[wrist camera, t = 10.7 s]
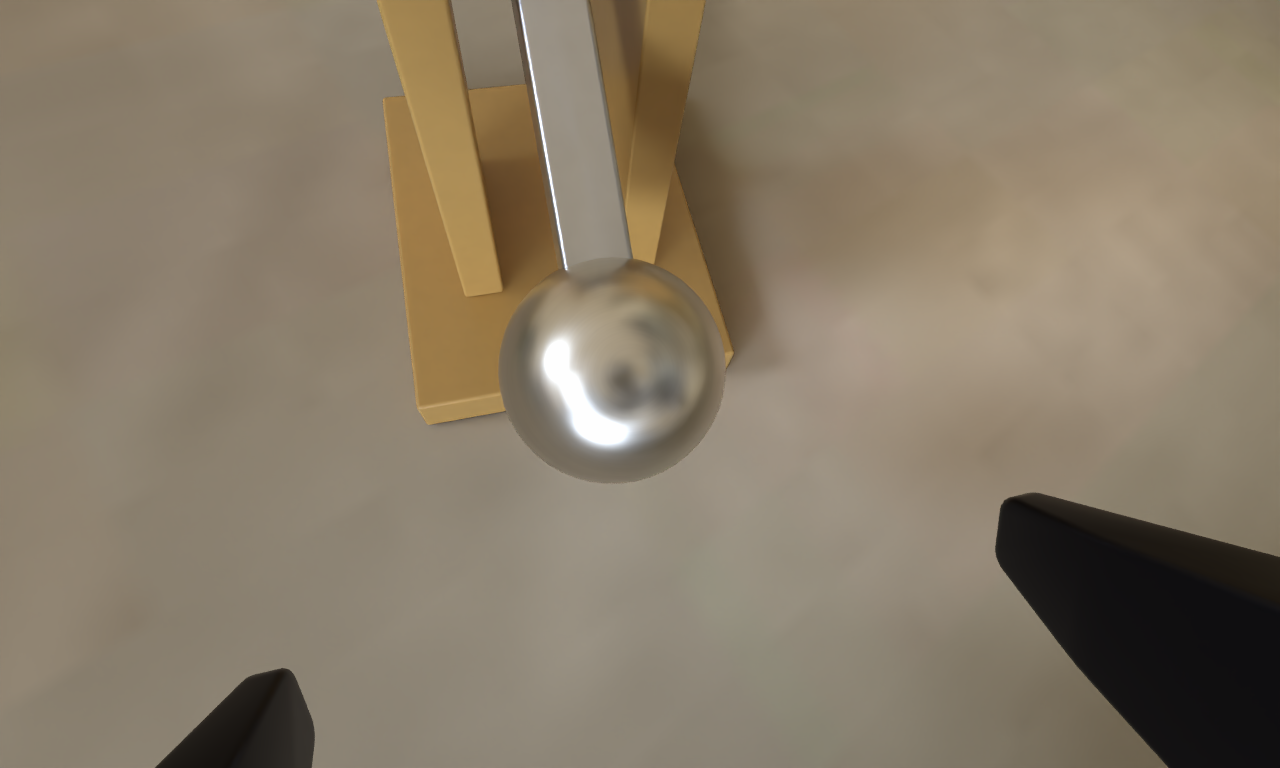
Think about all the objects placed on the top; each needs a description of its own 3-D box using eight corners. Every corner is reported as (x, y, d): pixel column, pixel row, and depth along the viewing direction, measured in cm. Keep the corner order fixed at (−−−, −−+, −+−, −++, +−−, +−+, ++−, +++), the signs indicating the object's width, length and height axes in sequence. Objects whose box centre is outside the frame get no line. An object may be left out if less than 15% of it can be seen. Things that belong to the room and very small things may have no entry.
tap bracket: (726, 372, 18) (953, -75, 7) (427, 426, 17) (147, -25, 6) (642, 101, 22) (709, -465, 11) (391, 127, 20) (181, -490, 9)
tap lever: (706, 444, 13) (777, 477, 9) (520, 481, 12) (520, 533, 9) (608, -158, 12) (646, -376, 8) (404, -151, 11) (352, -383, 8)
